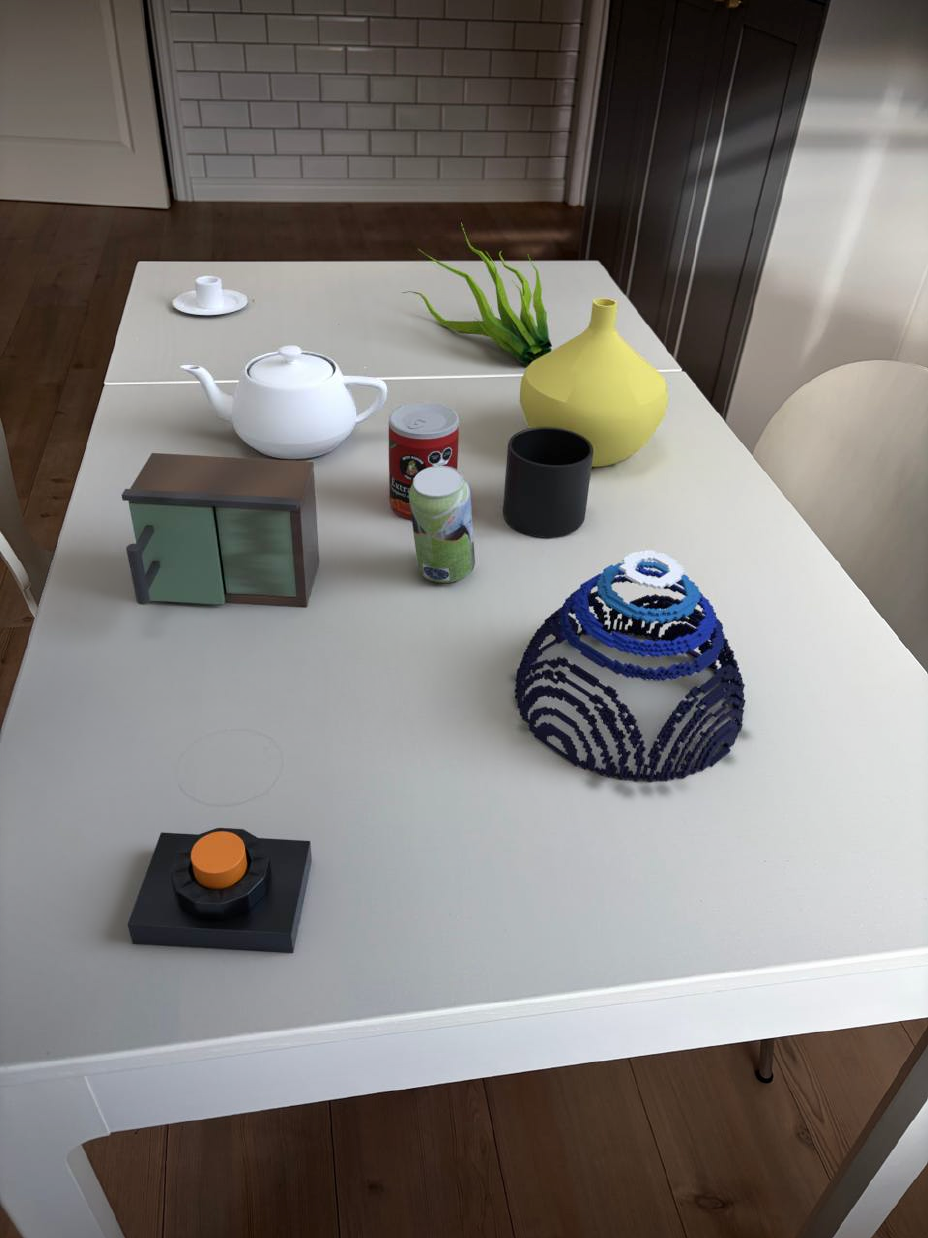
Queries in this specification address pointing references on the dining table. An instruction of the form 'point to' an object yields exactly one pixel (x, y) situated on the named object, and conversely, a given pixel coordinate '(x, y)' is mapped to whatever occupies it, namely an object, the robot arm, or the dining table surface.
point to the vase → (596, 390)
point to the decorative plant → (505, 315)
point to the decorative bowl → (637, 669)
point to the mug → (547, 481)
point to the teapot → (291, 403)
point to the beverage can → (442, 524)
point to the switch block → (223, 897)
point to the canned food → (419, 447)
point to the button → (219, 860)
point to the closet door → (175, 553)
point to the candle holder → (209, 298)
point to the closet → (246, 519)
